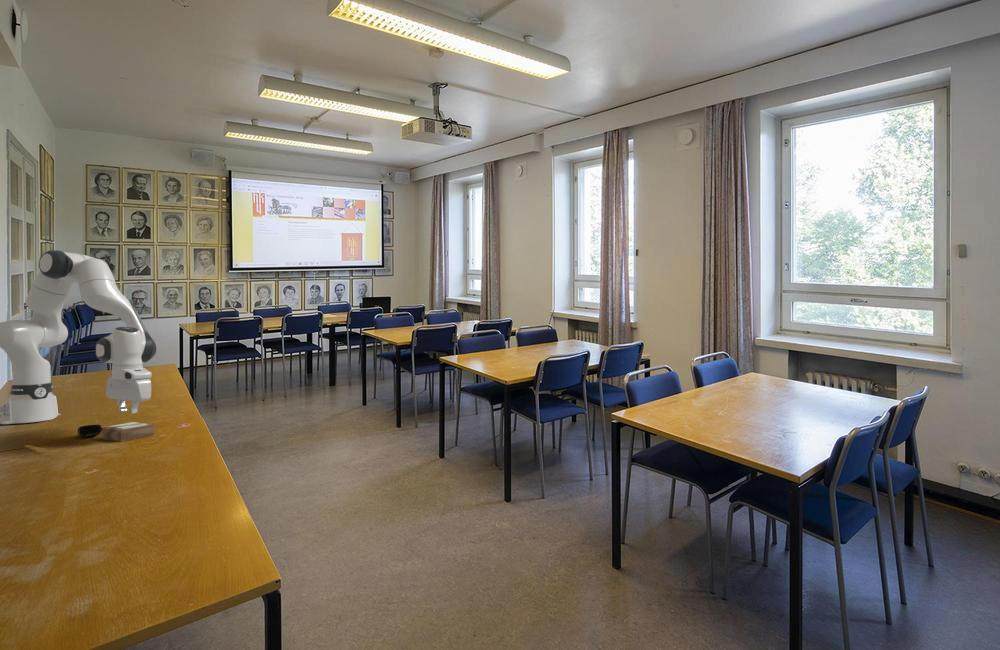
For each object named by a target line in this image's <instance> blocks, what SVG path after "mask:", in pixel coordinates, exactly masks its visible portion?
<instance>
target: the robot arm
mask: <svg viewBox="0 0 1000 650" xmlns="http://www.w3.org/2000/svg"><path fill="white" fill-rule="evenodd" d="M38 269H39V271H38V273H37V274H36V276H35V278H34V280H33V282H32V285H31V287H30V289H29V291H28V294H27V297H26V299H25V305H26V306H27V307H28V309H30V310H31V311H32V315H31V318H30V319H11V320H6V321H5V320H4V321H1V322H0V349H1V350H3V351H4V353H6V355H7V357H8V359H9V361H10V363H11V364H10V365H11V368H12V371H11V372H12V385H11V387H10V393H9V394H10V395H9V396H8V398H7V399H6V400H5V401H4V402H3V403H2V404H1V405H0V413H1V414H0V425H11V424H27V423H28V424H29V423H36V422H45V421H50V420H53V419H55V418H57V417H58V416H60V415H61V413H59V410H58V408H59V407H58V401H57V396H56V395H55V394H53V391H54V390H53V388H54V385H53V382H52V379H51V376H52V371H51V369H52V367H51V363H50V361H49V360H48V359H46V358H43V357H42V356H41V354H40V352H39V348H52V347H55V346H58V345H62V344H63V343H65V342H66V340H67V339H68V336H69V331H68V328H67V326H66V325H65V324H64V323H63V319H62V311H63V308H64V306H65V303H66V300H67V299H68V296H69V293H70V290H71V288H72V285H73V284H74V283H77V285H78V288H79V292H80V296H81V298H82V300H83V302H84V303H85V304H86V305H87V306H89V308H91V309H94V310H96V311H100V312H103V313H107V314H110V315H113V316H116V317H118V318H120V319H121V320H122V321H123V323H124V324H125V326H118V327H115V328H114V329H113V330H112V333H111V334H109V335H106V336H105V337H101V338H100V339H99V340H98V341H97V342H96V343H95V345H94V347H95V348H94V354H95V355H94V356H95V357H96V359H98V360H99V362H102V363H106V364H112V365H111V369H112V371H111V373H110V375H109V378H108V379H107V381H106V387H105V388H106V389H105V394H106V397H107V399H113V400H116V403H117V406H118V412H120V413H126V412H128V409H127V408H128V406H127V405H126V401H130V403H131V407H129V413H130V414H136V413H138V408H139V406H140V402H145V401H149V400H150V399H151V397H152V382H151V378H152V376H153V375H152V372H151V371H150V370H148V369H146V368H145V367H143V366H144V365H143V364H144V363H147V362H149V361H151V360H152V358H153V357H154V356H155V355H156V353H157V345H156V342H155V340H154V338H152V336H151V335H150V333H149V332H148V330H147V328H146V326H145V324H144V322H143V320H142V318H141V316H140V314H139V312H138V310H137V308H136V307H135V305H134V303H133V302H132V300H131V299H129V298H128V297H126V296H125V295H124V294H123V293H122V292H121V290H120V289H119V288H118V286H117V283H116V280H115V276H114V274H113V273H112V270H111V269H110V266H109V264H108V262H107V261H105V260H103V259H101V258H99V257H92V256H89V255H86V254H82V253H76V252H75V253H74V252H67V251H62V250H58V249H57V250H56V249H55V250H52V249H51V250H47V251H45V252H44V253H43V254H42V255H41V256H40V258H39V261H38Z"/></svg>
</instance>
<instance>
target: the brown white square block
mask: <svg viewBox="0 0 1000 650" xmlns="http://www.w3.org/2000/svg"><path fill="white" fill-rule="evenodd" d="M101 428H102V432H101V440H108V441H114V442H119V443H121V442H126V441H127V442H128V441H130V440H137V439H142V438H143V439H144V438H146V437H151V436H155V425H154V424H153V423H152V424H151V423H143V422H135V421H131V422H126V423H121V424H114V425H107V427H105V426H104V427H101Z"/></svg>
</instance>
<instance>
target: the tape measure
mask: <svg viewBox="0 0 1000 650" xmlns="http://www.w3.org/2000/svg"><path fill="white" fill-rule="evenodd" d="M102 428H103V427H102V425H101V424H89V425H82V426H78V428H77V435H78V437H85V438H87V437H89V436H95V435H96V436H97V435H98V434H102Z"/></svg>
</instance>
